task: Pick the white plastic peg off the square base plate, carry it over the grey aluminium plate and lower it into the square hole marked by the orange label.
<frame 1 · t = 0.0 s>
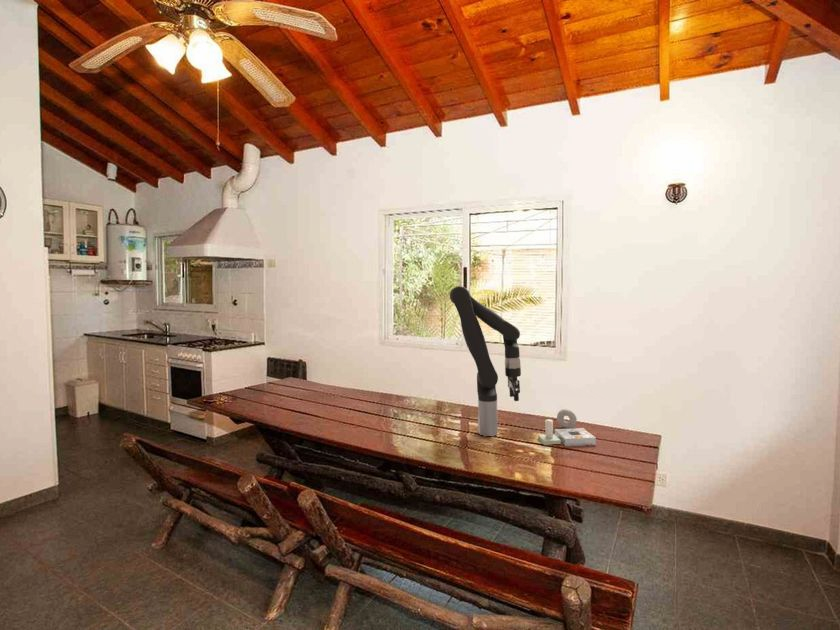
hand: (514, 398, 224), 17 cm above the table, tool pointing down, fingers open, 8 cm apart
flange: (574, 440, 212), on the table
square base plate: (549, 441, 211), on the table
donut: (566, 428, 230), on the table
peg: (549, 437, 211), point 2 cm above the table, touching square base plate
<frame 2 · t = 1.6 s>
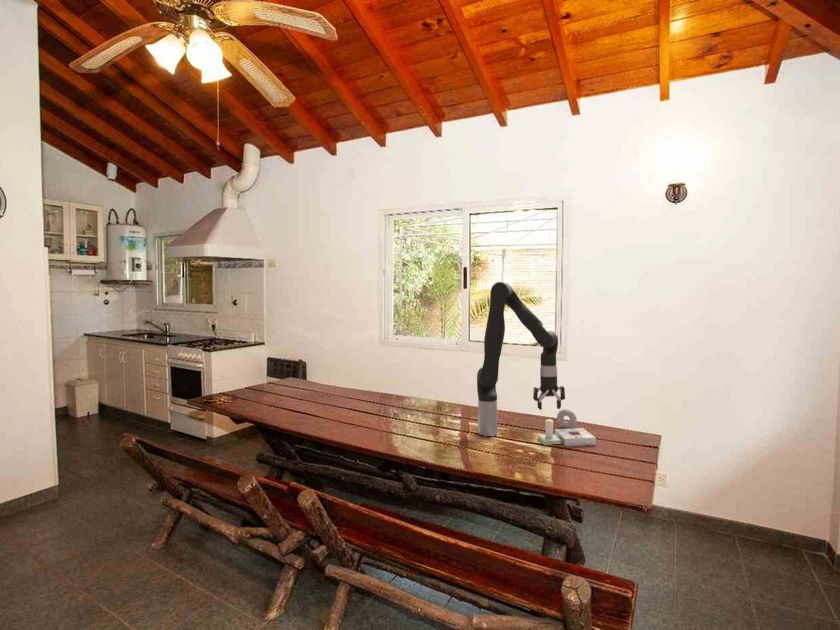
hand: (549, 409, 211), 15 cm above the table, tool pointing down, fingers open, 8 cm apart
nothing on the table moved.
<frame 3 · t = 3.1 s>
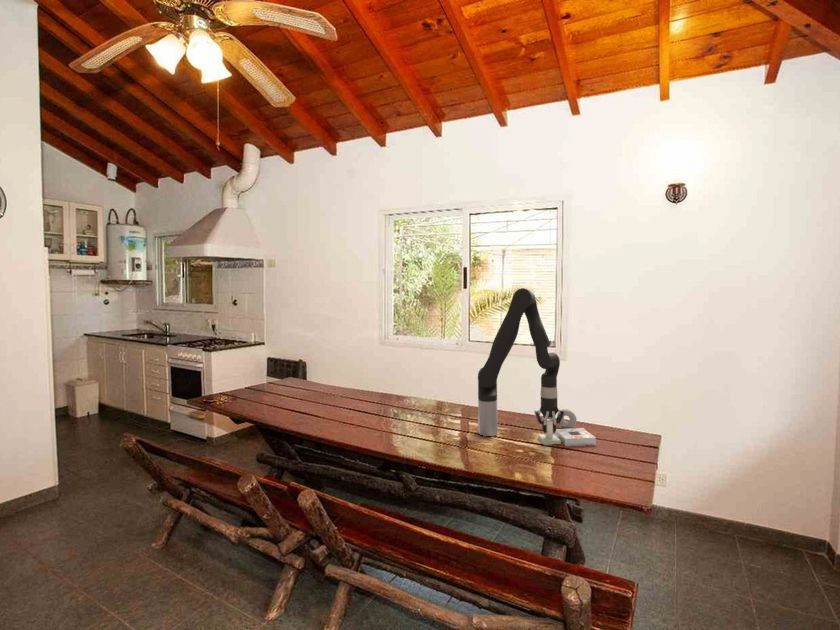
hand: (549, 432, 211), 4 cm above the table, tool pointing down, fingers closed on peg, 3 cm apart
peg: (549, 437, 211), point 2 cm above the table, touching gripper, square base plate
everything else where it was.
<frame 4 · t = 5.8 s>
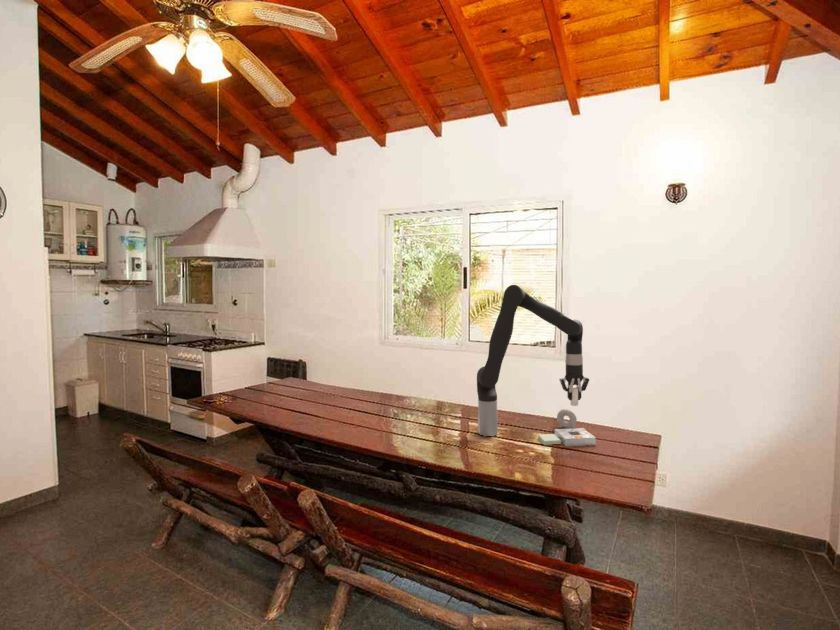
hand: (574, 399, 211), 19 cm above the table, tool pointing down, fingers closed on peg, 3 cm apart
peg: (574, 404, 211), point 17 cm above the table, touching gripper
everything else where it was.
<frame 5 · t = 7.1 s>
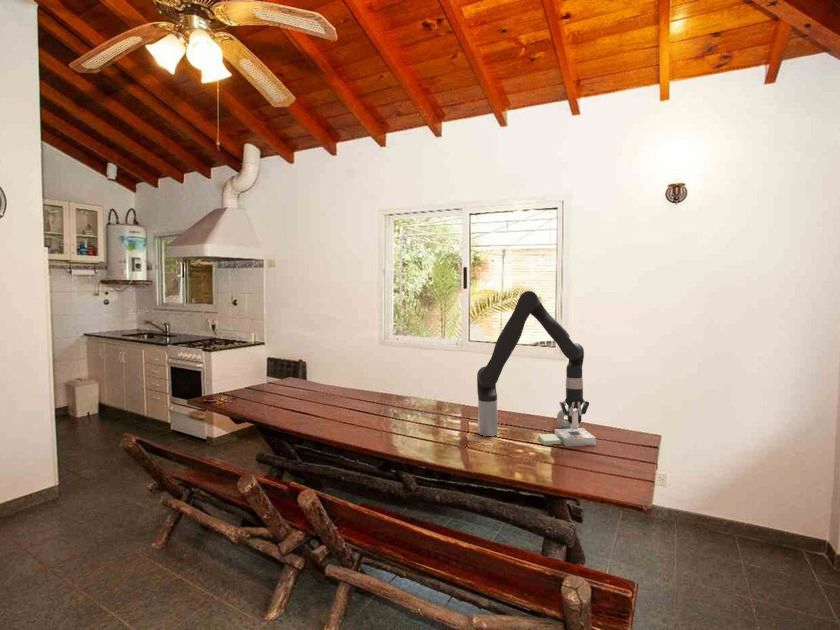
hand: (574, 422, 211), 8 cm above the table, tool pointing down, fingers closed on peg, 3 cm apart
peg: (574, 428, 212), point 6 cm above the table, touching gripper
everything else where it was.
when the fingers open (4 cm above the table, at t = 8.2 s): peg drops 2 cm, resting in flange.
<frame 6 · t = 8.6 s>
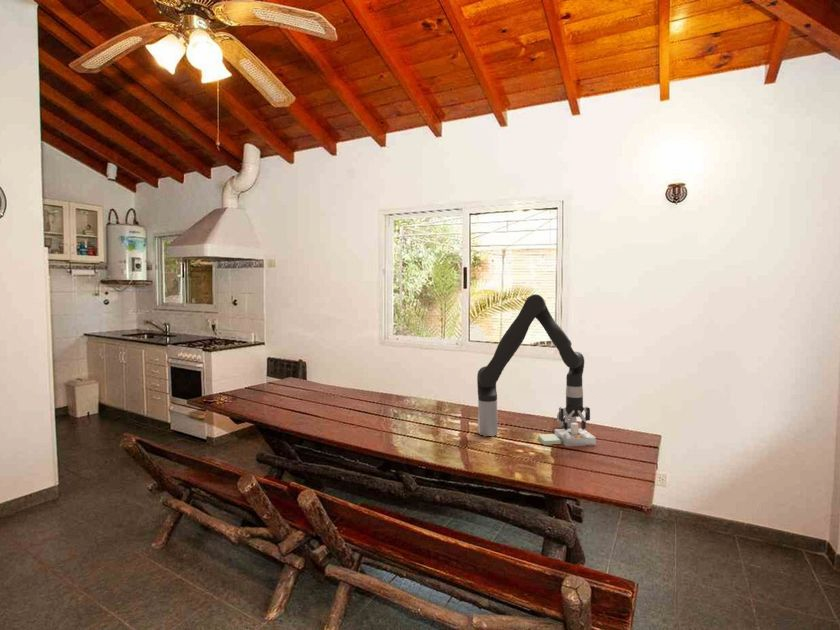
hand: (574, 429, 211), 5 cm above the table, tool pointing down, fingers open, 7 cm apart
peg: (574, 440, 212), resting in flange
everything else where it was.
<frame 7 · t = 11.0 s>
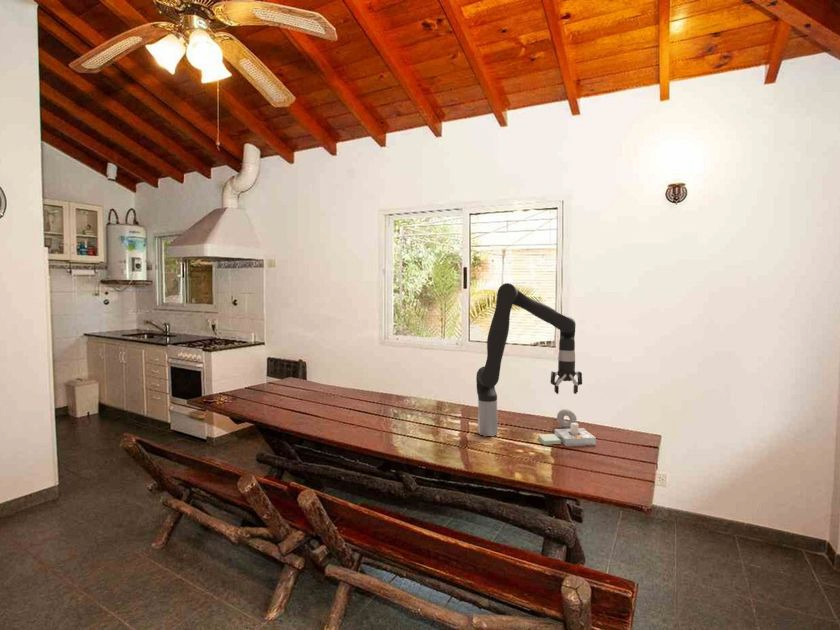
hand: (566, 393, 214), 22 cm above the table, tool pointing down, fingers open, 8 cm apart
nothing on the table moved.
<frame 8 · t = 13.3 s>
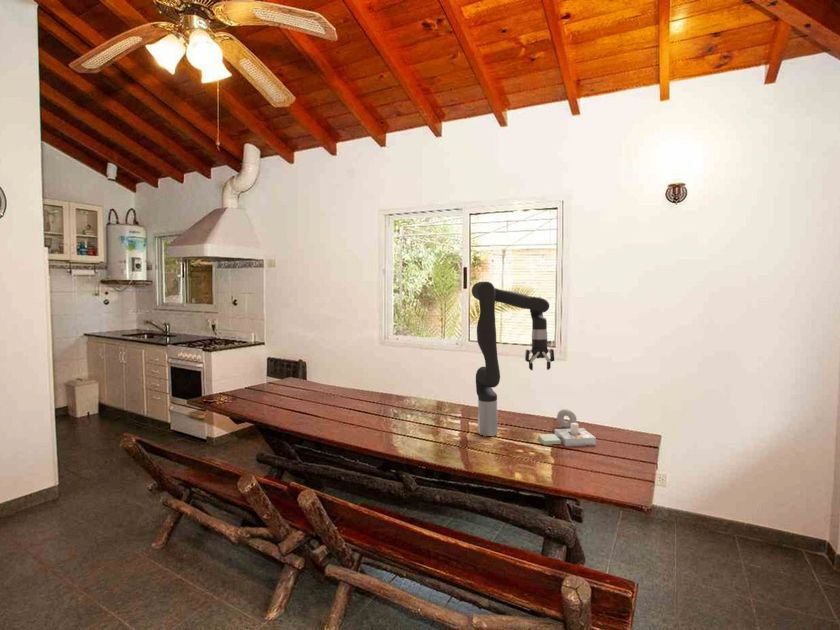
hand: (539, 369, 229), 30 cm above the table, tool pointing down, fingers open, 8 cm apart
nothing on the table moved.
at the end: peg 0.1 cm off-centre on the flange, point 0.0 cm above the flange's base; peg tilted 0°; the gripper is holding nothing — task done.
